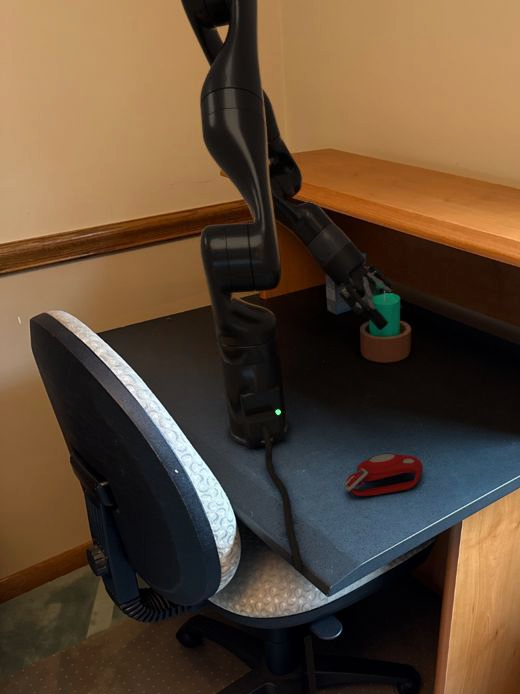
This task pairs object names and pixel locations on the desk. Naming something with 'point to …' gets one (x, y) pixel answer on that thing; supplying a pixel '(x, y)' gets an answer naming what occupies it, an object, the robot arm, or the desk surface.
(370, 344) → the holder
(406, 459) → the tracker holder
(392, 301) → the candle
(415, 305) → the desk surface
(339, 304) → the tape cartridge
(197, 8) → the robot arm
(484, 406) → the desk surface
